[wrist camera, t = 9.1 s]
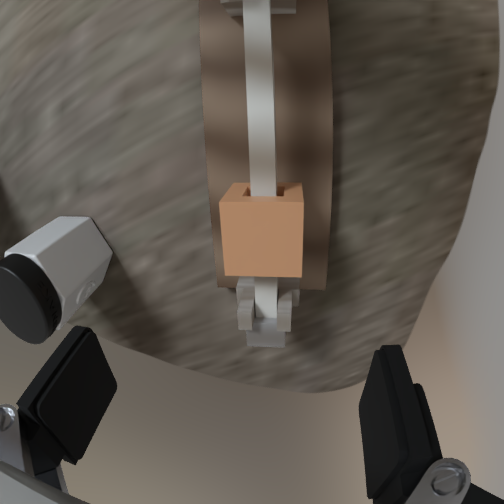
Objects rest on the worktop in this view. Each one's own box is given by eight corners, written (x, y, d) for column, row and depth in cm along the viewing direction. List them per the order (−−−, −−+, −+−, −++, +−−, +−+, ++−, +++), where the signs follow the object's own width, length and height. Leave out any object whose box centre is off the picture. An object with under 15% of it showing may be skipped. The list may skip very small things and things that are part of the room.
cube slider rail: (203, 2, 20) (168, -34, 13) (324, -4, 19) (337, -46, 11) (222, 293, 32) (202, 350, 24) (323, 296, 31) (329, 355, 23)
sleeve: (233, 182, 23) (218, 202, 19) (301, 182, 23) (303, 202, 18) (237, 244, 26) (225, 275, 21) (300, 245, 25) (301, 277, 20)
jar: (100, 295, 34) (45, 362, 24) (49, 259, 33) (-13, 313, 23) (121, 236, 31) (52, 300, 20) (63, 198, 30) (-15, 244, 19)
